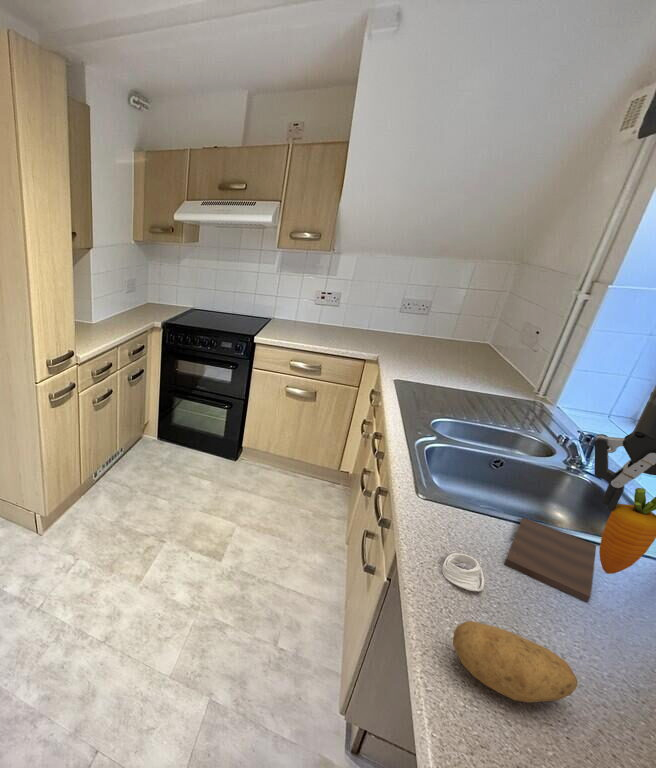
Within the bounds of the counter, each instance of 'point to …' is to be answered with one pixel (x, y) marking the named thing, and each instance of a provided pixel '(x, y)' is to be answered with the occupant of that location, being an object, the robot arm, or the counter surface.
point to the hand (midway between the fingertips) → (636, 516)
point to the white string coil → (463, 572)
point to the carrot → (628, 533)
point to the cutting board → (553, 558)
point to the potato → (513, 663)
